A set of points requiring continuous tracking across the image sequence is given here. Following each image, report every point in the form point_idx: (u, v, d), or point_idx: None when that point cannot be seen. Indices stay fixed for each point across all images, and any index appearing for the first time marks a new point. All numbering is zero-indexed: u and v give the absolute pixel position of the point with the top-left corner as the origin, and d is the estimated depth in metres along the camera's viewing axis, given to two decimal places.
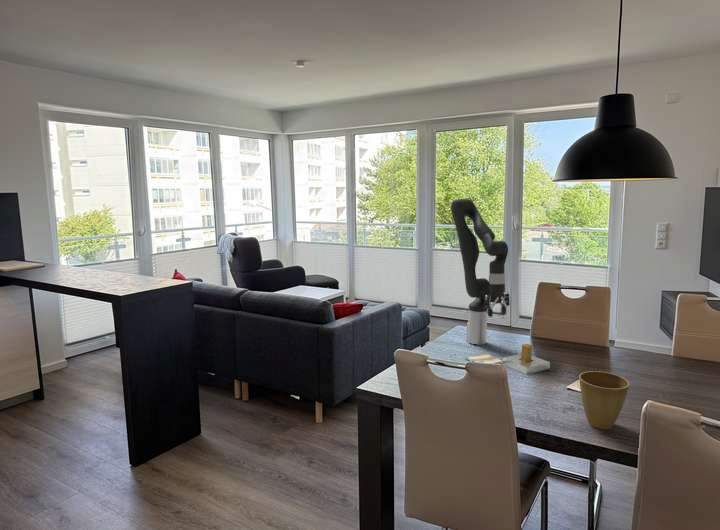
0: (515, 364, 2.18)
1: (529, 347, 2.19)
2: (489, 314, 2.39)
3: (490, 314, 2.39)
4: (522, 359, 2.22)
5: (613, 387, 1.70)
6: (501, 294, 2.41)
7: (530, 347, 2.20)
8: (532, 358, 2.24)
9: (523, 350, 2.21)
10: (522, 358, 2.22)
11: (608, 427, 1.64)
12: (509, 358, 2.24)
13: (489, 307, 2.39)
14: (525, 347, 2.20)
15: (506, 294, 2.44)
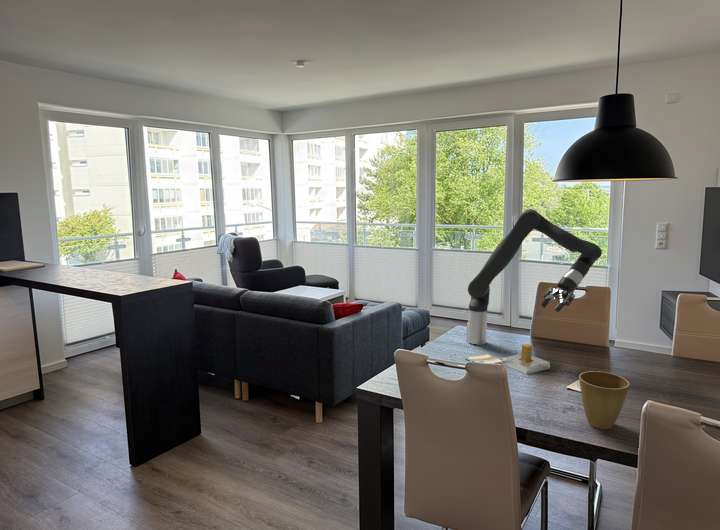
0: (515, 364, 2.18)
1: (529, 347, 2.19)
2: (560, 309, 2.18)
3: (559, 309, 2.19)
4: (522, 359, 2.22)
5: (613, 387, 1.70)
6: None
7: (530, 347, 2.20)
8: (532, 358, 2.24)
9: (523, 350, 2.21)
10: (522, 358, 2.22)
11: (608, 427, 1.64)
12: (509, 358, 2.24)
13: None
14: (525, 347, 2.20)
15: (553, 290, 2.30)
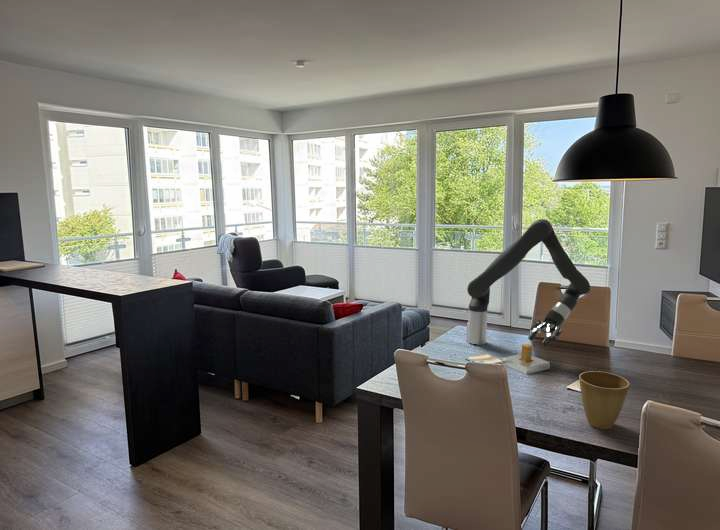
0: (515, 364, 2.18)
1: (529, 347, 2.19)
2: None
3: (546, 344, 2.19)
4: (522, 359, 2.22)
5: (613, 387, 1.70)
6: None
7: (530, 347, 2.20)
8: (532, 358, 2.24)
9: (523, 350, 2.21)
10: (522, 358, 2.22)
11: (608, 427, 1.64)
12: (509, 358, 2.24)
13: None
14: (525, 347, 2.20)
15: None
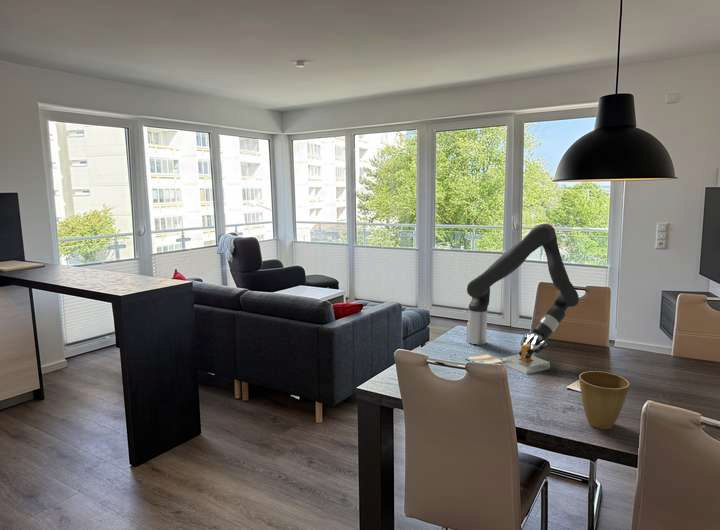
0: (515, 364, 2.18)
1: (529, 346, 2.19)
2: (529, 356, 2.19)
3: (528, 356, 2.19)
4: (522, 359, 2.22)
5: (613, 387, 1.70)
6: None
7: None
8: (532, 358, 2.24)
9: (523, 350, 2.21)
10: (522, 358, 2.22)
11: (608, 427, 1.64)
12: (509, 358, 2.24)
13: None
14: (525, 347, 2.20)
15: None
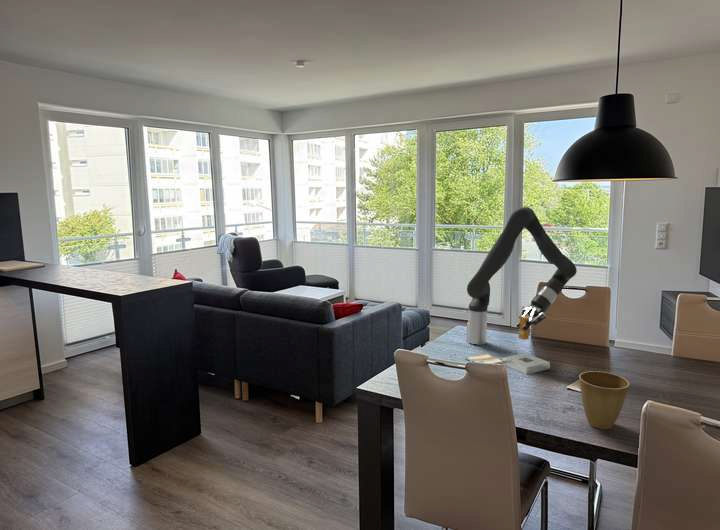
0: (515, 364, 2.18)
1: (527, 318, 2.18)
2: (527, 328, 2.17)
3: (527, 328, 2.18)
4: (520, 331, 2.21)
5: (613, 387, 1.70)
6: None
7: None
8: (532, 358, 2.24)
9: (521, 322, 2.20)
10: (520, 330, 2.21)
11: (608, 427, 1.64)
12: (509, 358, 2.24)
13: None
14: (523, 319, 2.19)
15: None
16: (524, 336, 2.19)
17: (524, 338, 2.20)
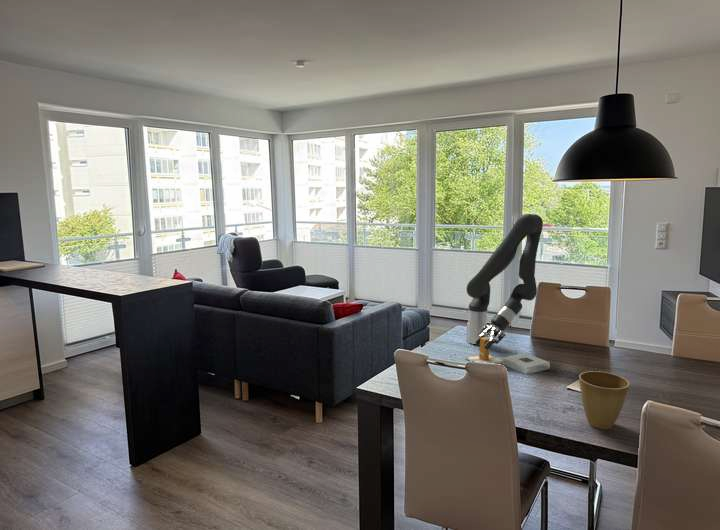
0: (515, 364, 2.18)
1: (486, 340, 2.26)
2: (489, 347, 2.24)
3: (488, 347, 2.24)
4: (480, 352, 2.28)
5: (613, 387, 1.70)
6: None
7: (488, 340, 2.26)
8: (532, 358, 2.24)
9: (481, 343, 2.27)
10: (480, 351, 2.28)
11: (608, 427, 1.64)
12: (509, 358, 2.24)
13: None
14: (483, 340, 2.26)
15: (487, 327, 2.34)
16: (484, 357, 2.27)
17: (484, 359, 2.27)
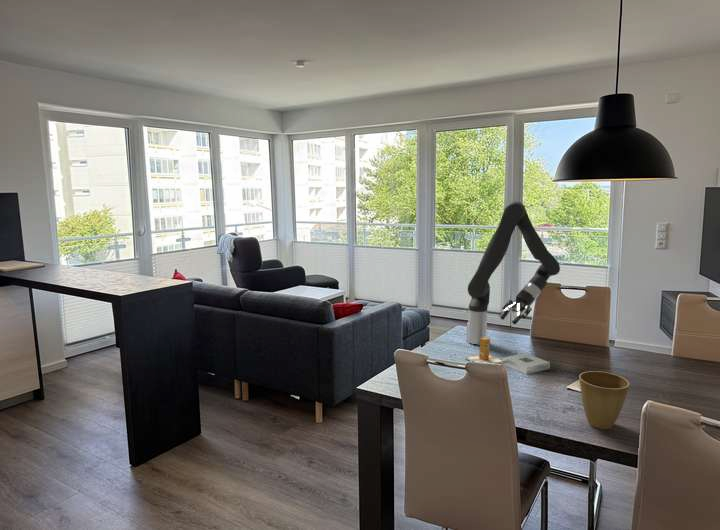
0: (515, 364, 2.18)
1: (486, 340, 2.26)
2: None
3: (516, 322, 2.27)
4: (480, 352, 2.28)
5: (613, 387, 1.70)
6: None
7: (488, 340, 2.26)
8: (532, 358, 2.24)
9: (481, 343, 2.27)
10: (480, 351, 2.28)
11: (608, 427, 1.64)
12: (509, 358, 2.24)
13: None
14: (483, 340, 2.26)
15: (512, 302, 2.37)
16: (484, 357, 2.27)
17: (484, 359, 2.27)
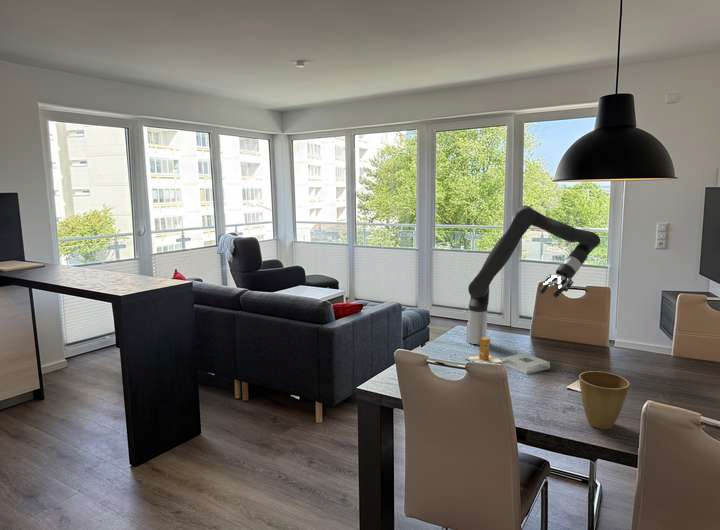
0: (515, 364, 2.18)
1: (486, 340, 2.26)
2: (558, 295, 2.23)
3: (557, 295, 2.23)
4: (480, 352, 2.28)
5: (613, 387, 1.70)
6: None
7: (488, 340, 2.26)
8: (532, 358, 2.24)
9: (481, 343, 2.27)
10: (480, 351, 2.28)
11: (608, 427, 1.64)
12: (509, 358, 2.24)
13: None
14: (483, 340, 2.26)
15: None
16: (484, 357, 2.27)
17: (484, 359, 2.27)
